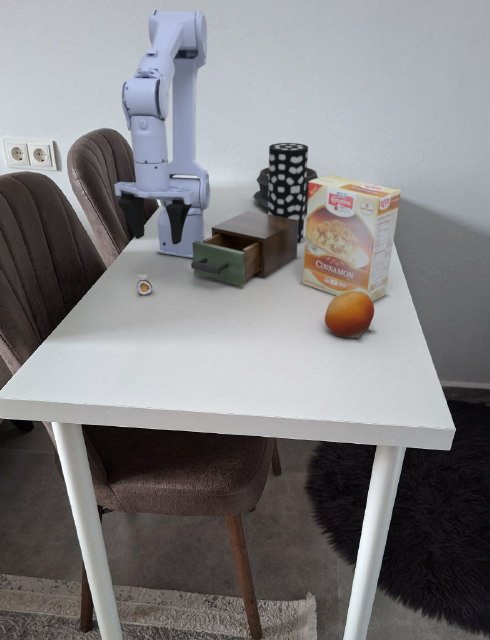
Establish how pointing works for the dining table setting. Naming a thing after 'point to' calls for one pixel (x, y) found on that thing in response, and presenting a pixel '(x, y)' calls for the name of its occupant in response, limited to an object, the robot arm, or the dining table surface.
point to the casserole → (264, 180)
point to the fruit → (350, 314)
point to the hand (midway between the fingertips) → (158, 239)
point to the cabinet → (265, 237)
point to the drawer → (227, 258)
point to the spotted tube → (288, 182)
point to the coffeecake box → (349, 236)
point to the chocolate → (144, 286)
